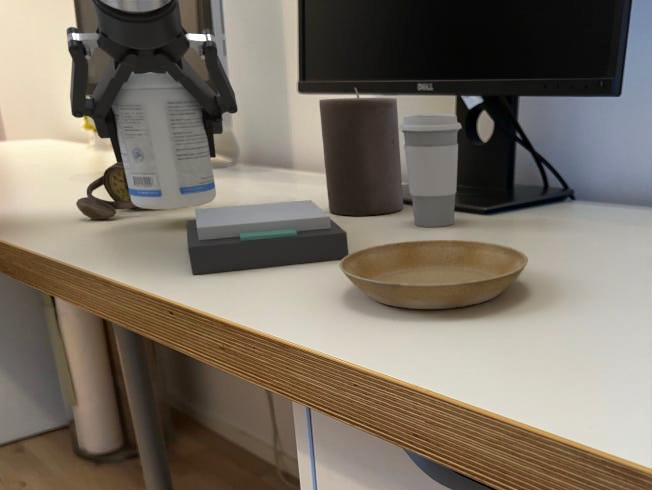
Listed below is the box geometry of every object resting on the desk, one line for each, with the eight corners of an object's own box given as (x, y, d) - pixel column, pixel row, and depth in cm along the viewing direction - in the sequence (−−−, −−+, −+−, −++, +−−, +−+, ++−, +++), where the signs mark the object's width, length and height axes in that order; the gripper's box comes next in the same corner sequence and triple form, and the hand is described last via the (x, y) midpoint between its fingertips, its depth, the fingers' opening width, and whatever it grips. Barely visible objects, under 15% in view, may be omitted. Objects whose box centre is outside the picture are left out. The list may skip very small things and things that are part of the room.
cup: (446, 215, 86) (443, 113, 82) (475, 223, 81) (472, 115, 77) (394, 222, 83) (388, 116, 78) (421, 231, 78) (415, 117, 73)
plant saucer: (439, 259, 65) (438, 231, 64) (565, 287, 56) (566, 255, 55) (305, 293, 56) (301, 261, 55) (429, 334, 46) (427, 296, 45)
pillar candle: (347, 219, 85) (335, 88, 80) (318, 208, 93) (305, 88, 87) (417, 210, 90) (410, 86, 85) (384, 201, 98) (376, 86, 92)
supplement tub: (212, 195, 90) (194, 72, 84) (222, 206, 82) (202, 71, 76) (129, 201, 86) (104, 72, 80) (131, 213, 78) (103, 71, 72)
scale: (192, 275, 62) (185, 233, 60) (190, 244, 74) (184, 208, 72) (348, 258, 66) (345, 219, 65) (322, 231, 78) (319, 198, 77)
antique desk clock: (188, 166, 94) (143, 147, 98) (95, 167, 83) (49, 146, 88) (185, 218, 97) (142, 197, 101) (95, 225, 86) (50, 202, 90)
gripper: (-5, 15, 59) (64, 181, 79) (263, 20, 67) (266, 170, 87) (-8, -46, 62) (60, 129, 82) (251, -35, 70) (256, 123, 89)
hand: (166, 150), depth 84 cm, fingers closed on supplement tub, 10 cm apart
